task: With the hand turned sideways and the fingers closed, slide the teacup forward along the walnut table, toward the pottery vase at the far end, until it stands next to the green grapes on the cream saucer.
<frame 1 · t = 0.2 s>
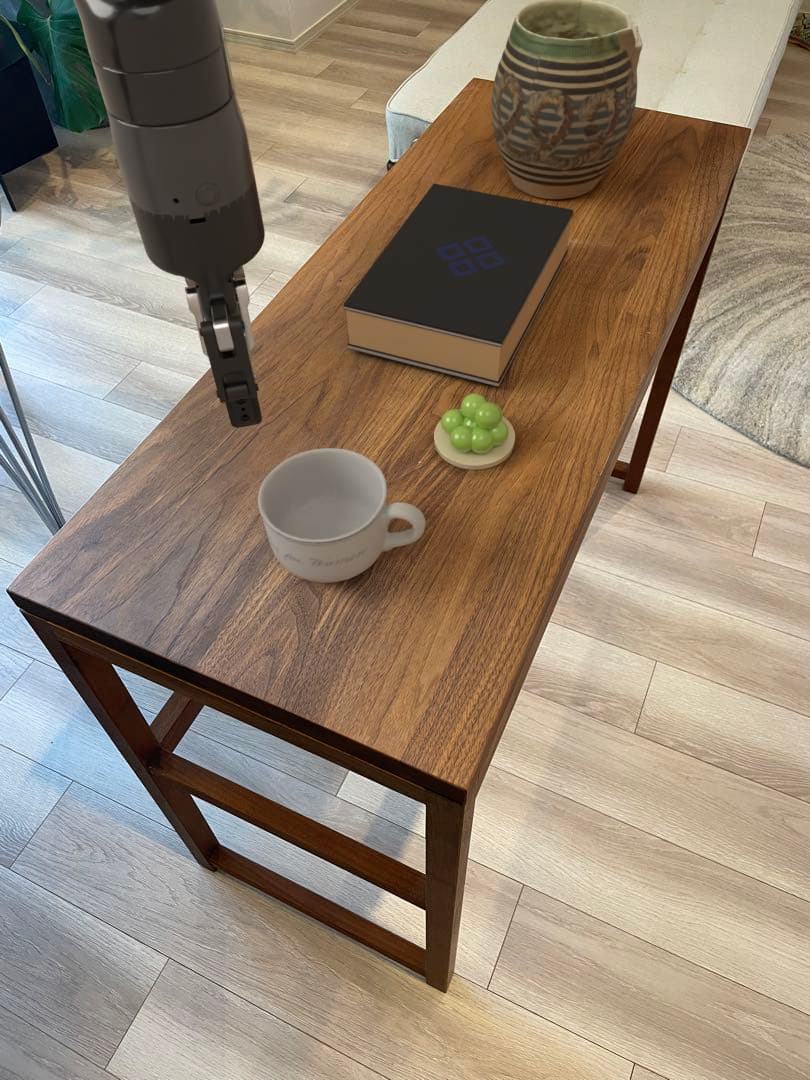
hand: (240, 383, 62), 18 cm above the table, tool pointing down, fingers open, 8 cm apart
book: (462, 306, 96), on the table
grapes: (474, 440, 82), on the table
teacup: (348, 555, 74), on the table
pottery: (554, 179, 112), on the table
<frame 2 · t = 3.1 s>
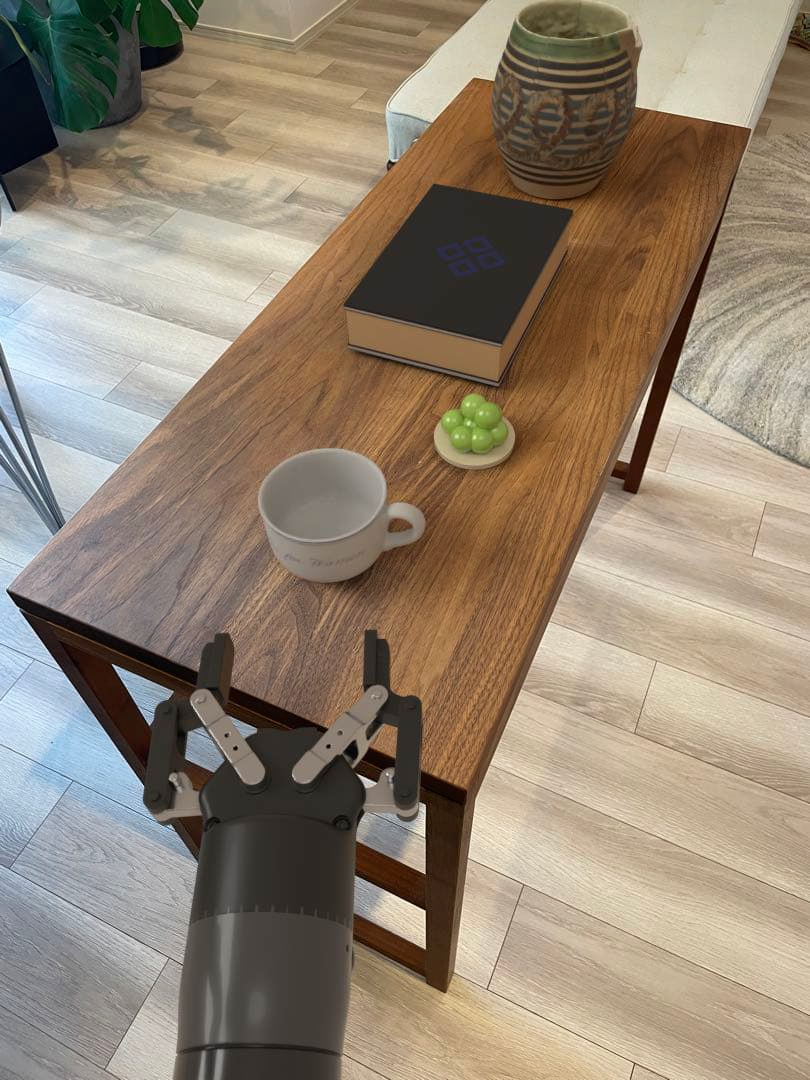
hand: (298, 638, 48), 18 cm above the table, tool horizontal, fingers open, 8 cm apart
nothing on the table moved.
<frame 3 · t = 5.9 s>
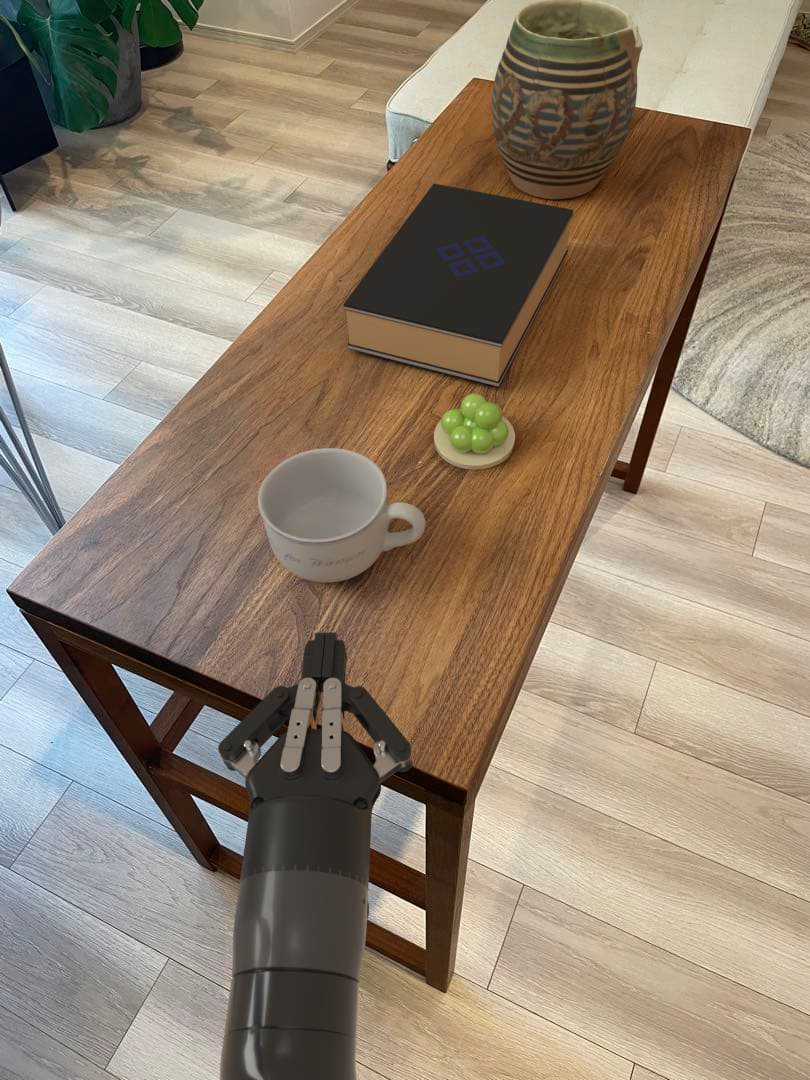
hand: (326, 638, 59), 9 cm above the table, tool horizontal, fingers closed
nothing on the table moved.
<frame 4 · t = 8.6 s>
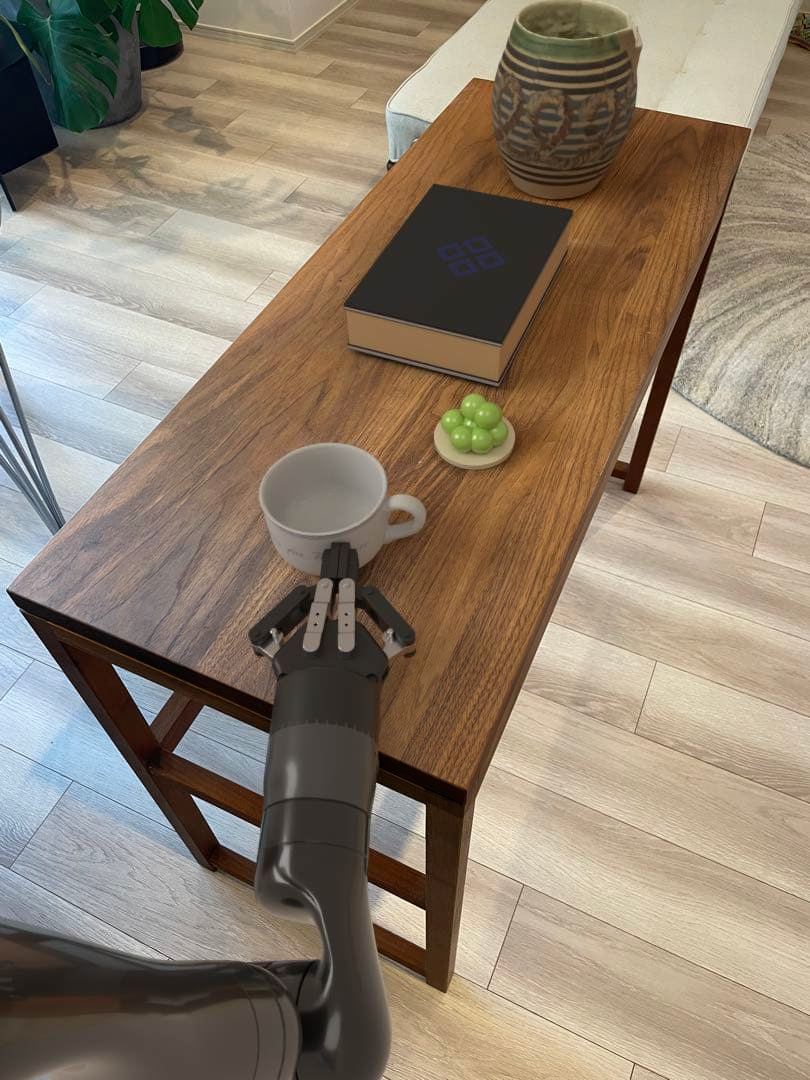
hand: (341, 548, 67), 6 cm above the table, tool horizontal, fingers closed
teacup: (349, 549, 75), on the table, touching gripper
everything else where it was.
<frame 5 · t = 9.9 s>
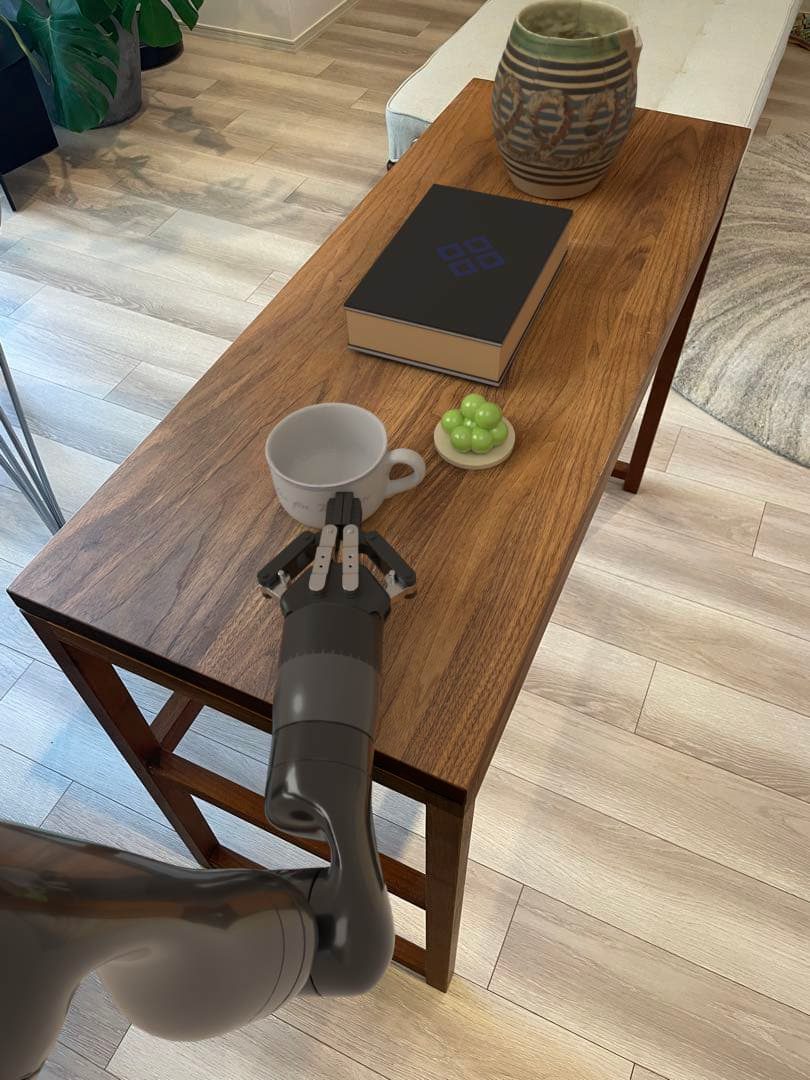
hand: (345, 498, 70), 6 cm above the table, tool horizontal, fingers closed
teacup: (351, 506, 78), on the table, touching gripper
everything else where it was.
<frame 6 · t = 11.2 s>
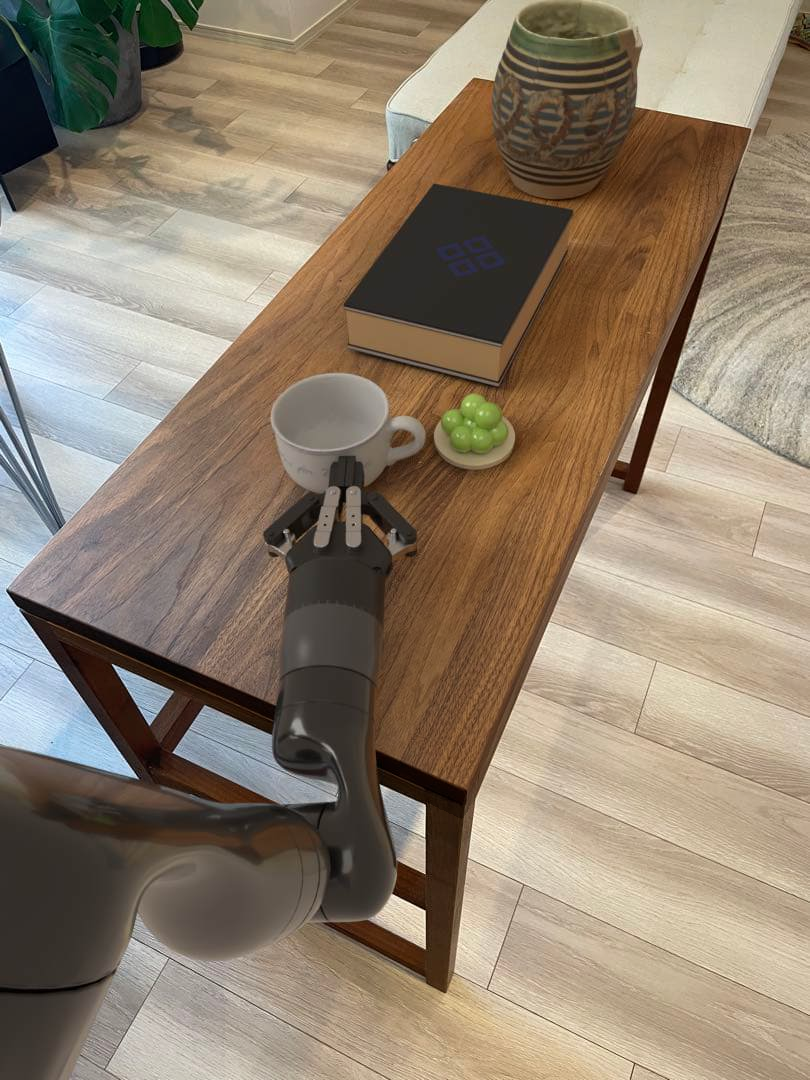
hand: (348, 462, 72), 6 cm above the table, tool horizontal, fingers closed
teacup: (353, 473, 80), on the table, touching gripper
everything else where it was.
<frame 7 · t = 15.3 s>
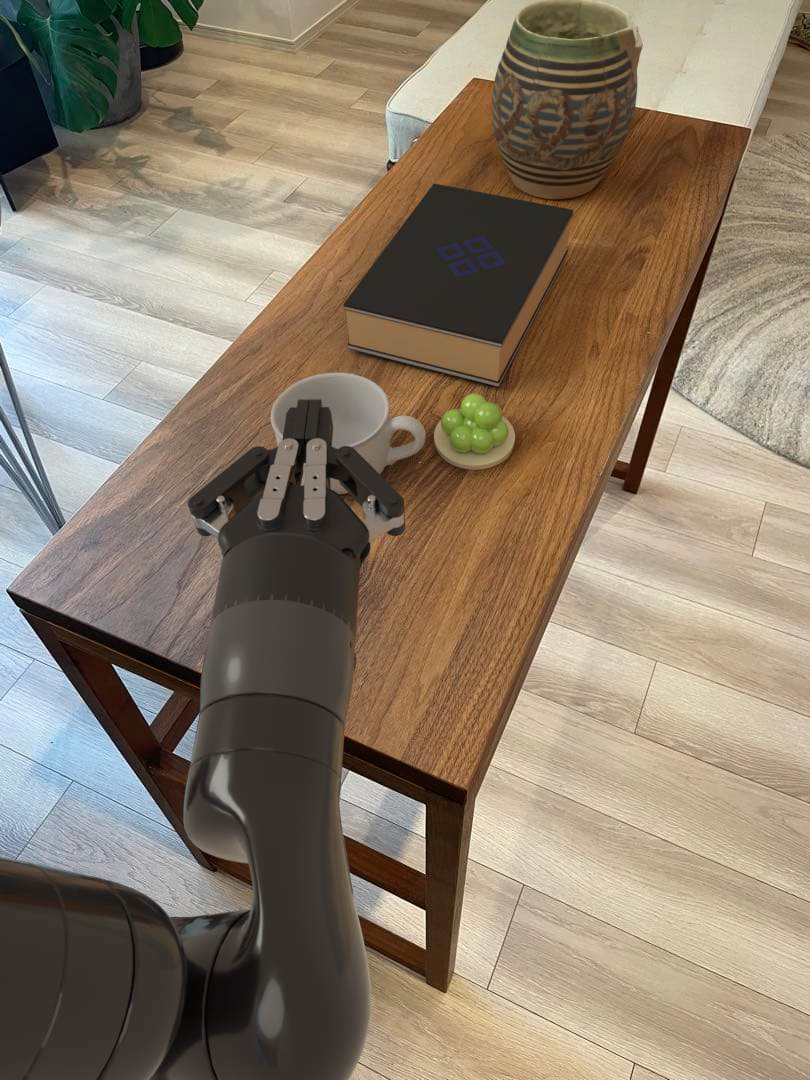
hand: (311, 409, 53), 23 cm above the table, tool horizontal, fingers closed
teacup: (353, 473, 80), on the table
everything else where it was.
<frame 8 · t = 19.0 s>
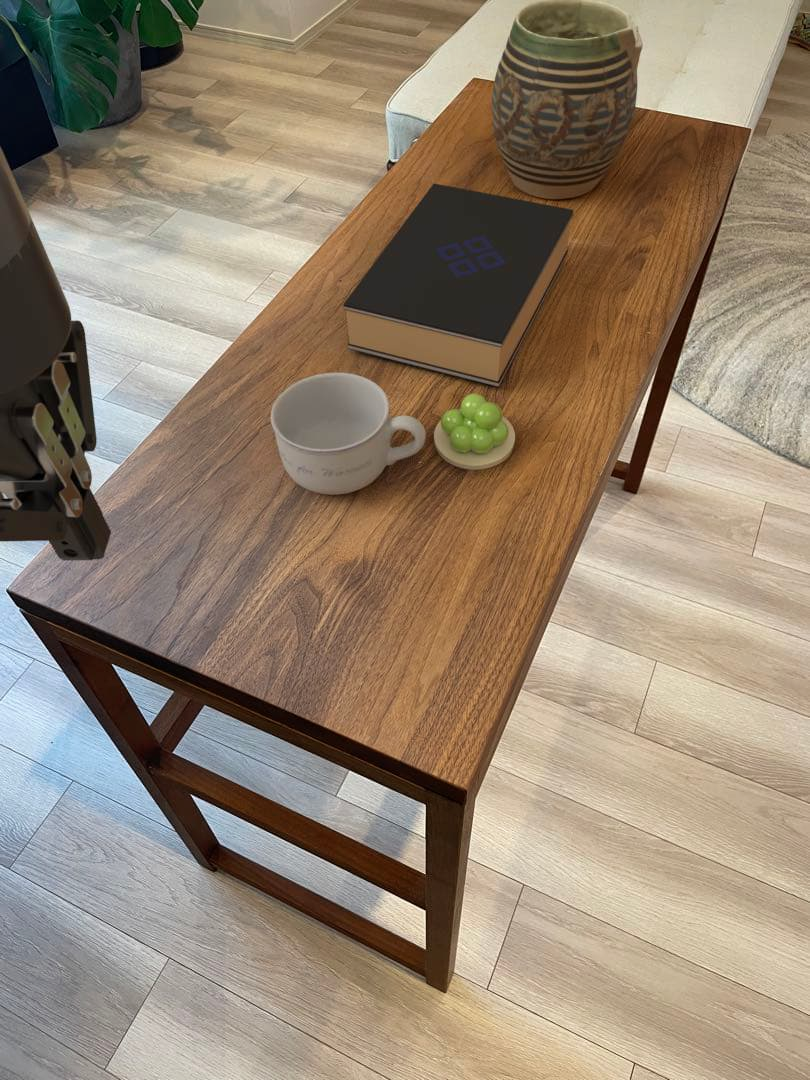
hand: (88, 548, 41), 27 cm above the table, tool pointing down, fingers closed
nothing on the table moved.
at the end: teacup 12.5 cm from the grapes (horizontally); teacup 58.1 cm from the pottery (horizontally); teacup tilted 0° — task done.
